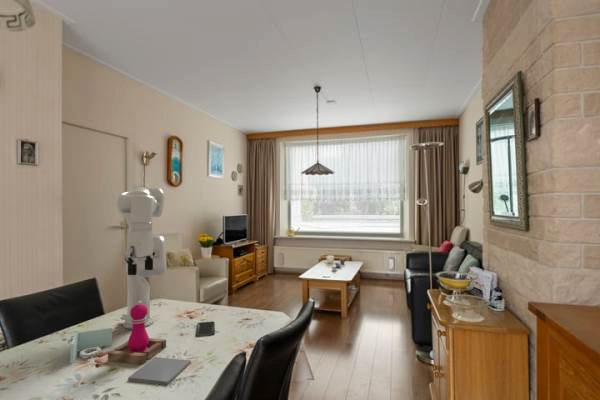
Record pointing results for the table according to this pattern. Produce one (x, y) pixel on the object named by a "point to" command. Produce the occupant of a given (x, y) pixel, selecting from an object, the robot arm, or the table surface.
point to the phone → (205, 329)
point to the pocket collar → (125, 356)
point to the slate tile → (160, 370)
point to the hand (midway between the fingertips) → (140, 272)
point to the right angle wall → (90, 342)
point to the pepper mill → (138, 329)
